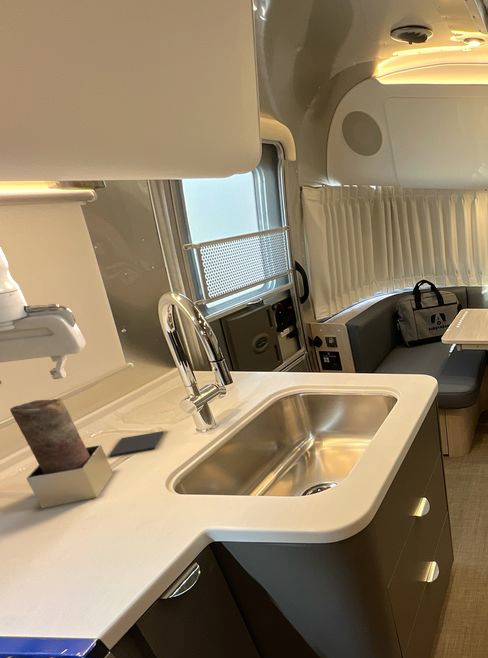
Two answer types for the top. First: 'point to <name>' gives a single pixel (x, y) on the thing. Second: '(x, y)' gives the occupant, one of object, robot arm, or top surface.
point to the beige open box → (72, 481)
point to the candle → (51, 435)
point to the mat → (137, 443)
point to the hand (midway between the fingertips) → (28, 382)
